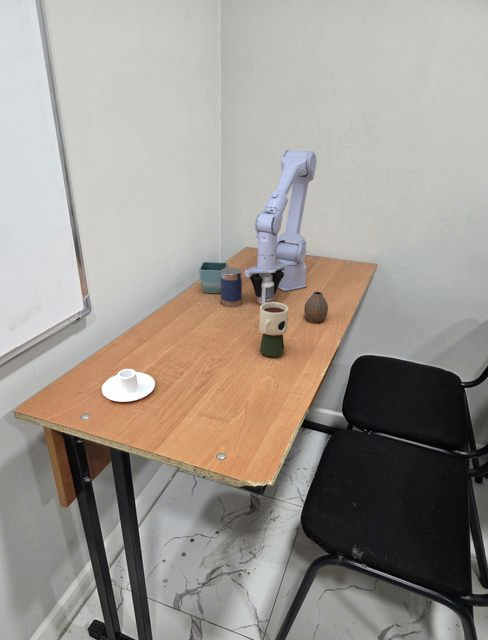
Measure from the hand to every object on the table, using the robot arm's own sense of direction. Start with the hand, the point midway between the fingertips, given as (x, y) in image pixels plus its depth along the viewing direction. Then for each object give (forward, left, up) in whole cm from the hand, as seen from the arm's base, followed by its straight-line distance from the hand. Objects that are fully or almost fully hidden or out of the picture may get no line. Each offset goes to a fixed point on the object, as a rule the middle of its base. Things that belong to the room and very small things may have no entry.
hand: (265, 294), depth 143 cm
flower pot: (+10, -17, -3) cm, 20 cm away
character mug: (+15, +29, -3) cm, 32 cm away
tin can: (+10, -5, -3) cm, 11 cm away
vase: (-7, +18, -3) cm, 19 cm away
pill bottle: (0, 0, -3) cm, 3 cm away
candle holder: (+53, +28, -3) cm, 60 cm away
